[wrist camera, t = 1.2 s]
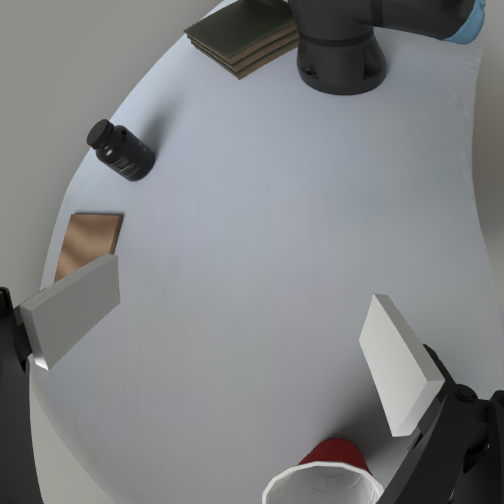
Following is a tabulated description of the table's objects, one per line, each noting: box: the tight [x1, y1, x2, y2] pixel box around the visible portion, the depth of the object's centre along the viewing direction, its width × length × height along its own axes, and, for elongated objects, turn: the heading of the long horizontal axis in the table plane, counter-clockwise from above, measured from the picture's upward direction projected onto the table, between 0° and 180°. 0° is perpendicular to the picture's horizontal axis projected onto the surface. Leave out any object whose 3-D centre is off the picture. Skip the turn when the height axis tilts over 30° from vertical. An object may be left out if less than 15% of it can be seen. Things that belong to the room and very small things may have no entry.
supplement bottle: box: [87, 119, 154, 181], centre depth 42 cm, size 7×7×12 cm
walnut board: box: [54, 214, 123, 283], centre depth 46 cm, size 16×16×1 cm
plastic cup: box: [262, 439, 384, 504], centre depth 21 cm, size 11×11×12 cm
